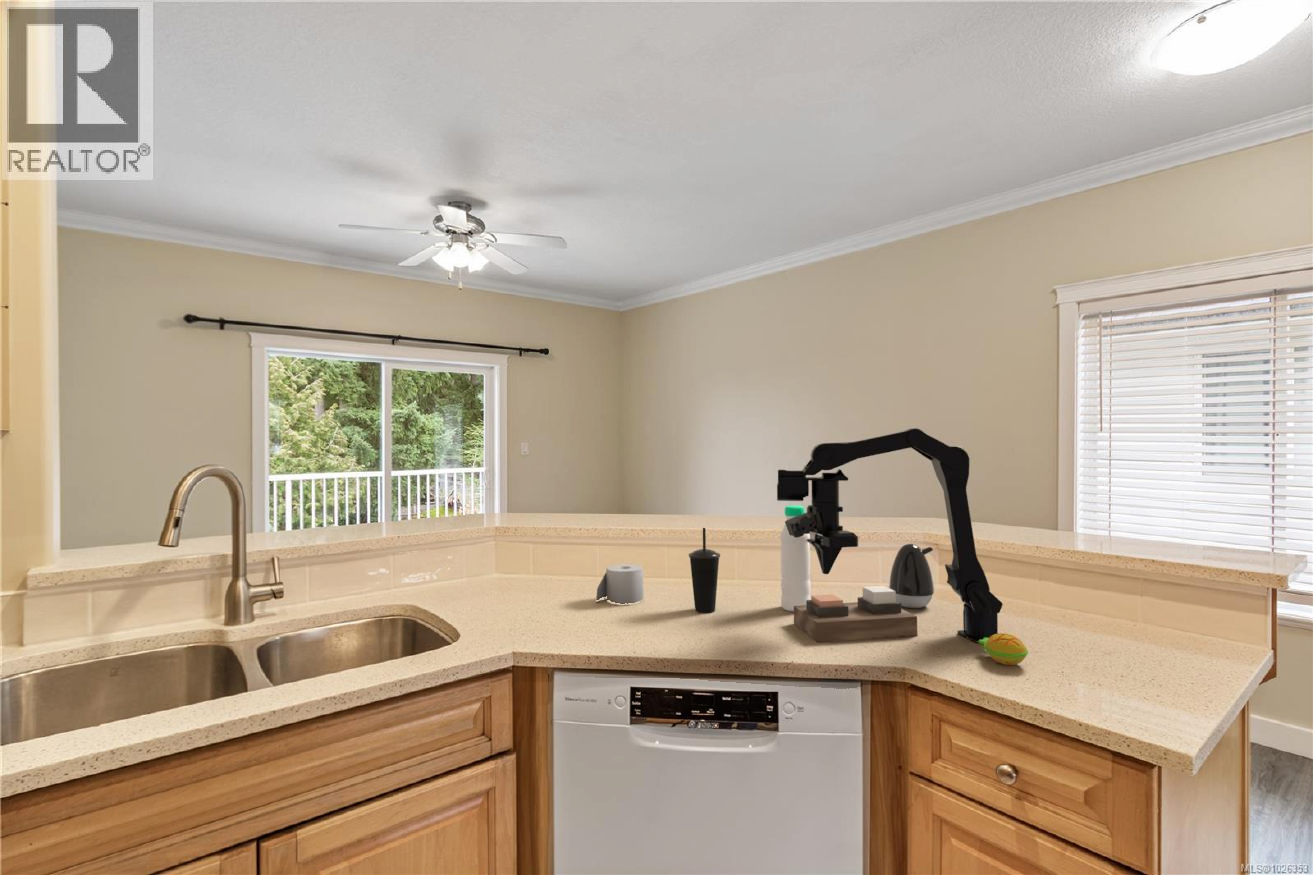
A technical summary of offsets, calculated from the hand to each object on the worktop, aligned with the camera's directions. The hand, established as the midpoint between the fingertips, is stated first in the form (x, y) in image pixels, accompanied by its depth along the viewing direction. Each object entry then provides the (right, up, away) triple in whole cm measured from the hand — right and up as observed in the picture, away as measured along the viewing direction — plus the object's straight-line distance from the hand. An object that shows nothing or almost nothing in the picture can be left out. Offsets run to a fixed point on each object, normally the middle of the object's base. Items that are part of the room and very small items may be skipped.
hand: (825, 573), depth 134 cm
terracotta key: (0, -8, 0) cm, 8 cm away
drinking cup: (-25, -13, +17) cm, 33 cm away
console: (+6, -12, +1) cm, 14 cm away
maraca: (+28, -12, -19) cm, 36 cm away
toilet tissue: (-46, -13, +27) cm, 55 cm away
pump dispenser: (+26, -12, +19) cm, 35 cm away
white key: (+12, -7, +2) cm, 14 cm away
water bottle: (-2, -13, +18) cm, 22 cm away
